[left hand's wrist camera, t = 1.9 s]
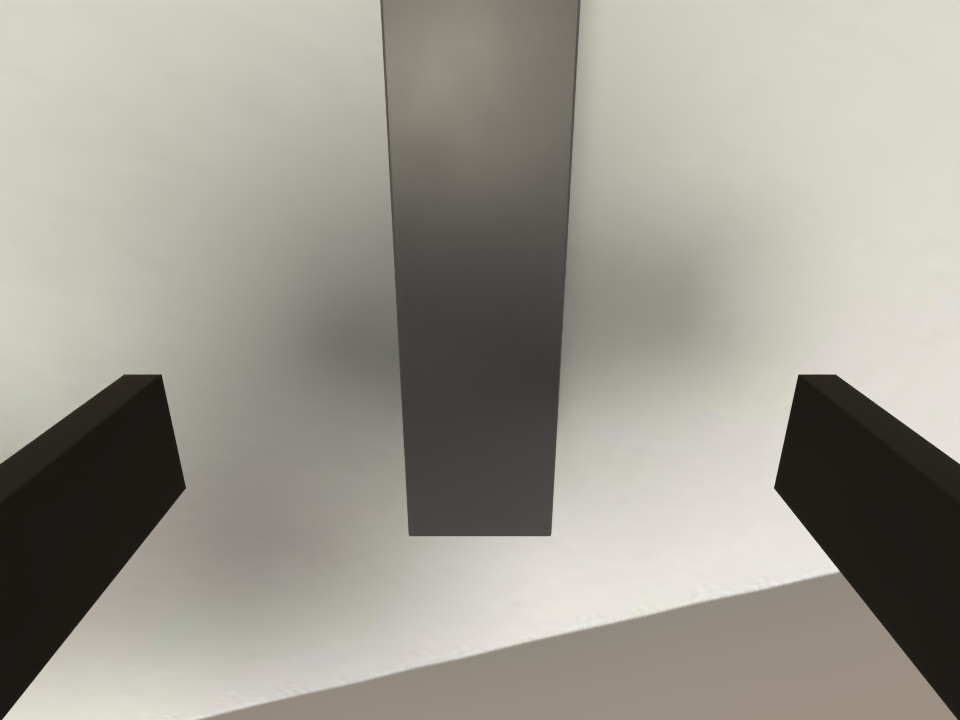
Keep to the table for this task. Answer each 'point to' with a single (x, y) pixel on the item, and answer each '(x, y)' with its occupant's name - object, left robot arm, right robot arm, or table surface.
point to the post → (480, 252)
